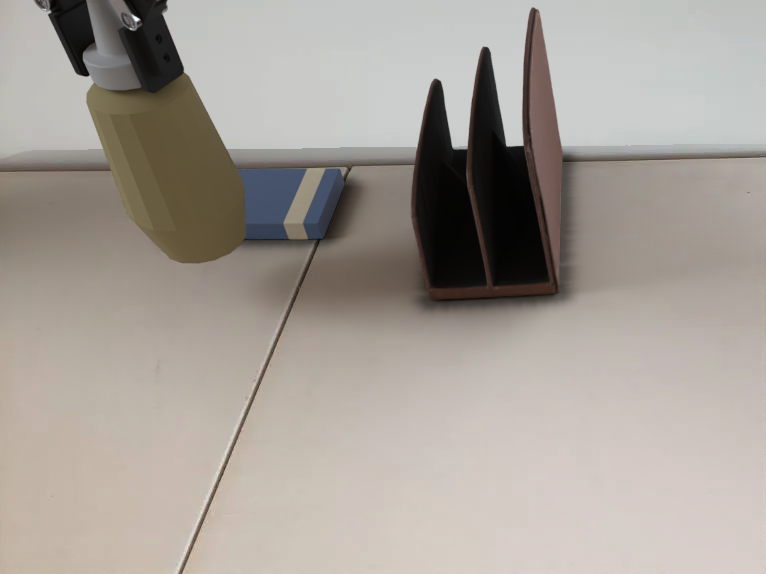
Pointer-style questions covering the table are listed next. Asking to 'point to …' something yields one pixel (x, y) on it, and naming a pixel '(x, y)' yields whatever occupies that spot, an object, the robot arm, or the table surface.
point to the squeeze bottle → (163, 152)
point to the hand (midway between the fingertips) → (130, 71)
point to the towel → (290, 202)
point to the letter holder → (491, 189)
